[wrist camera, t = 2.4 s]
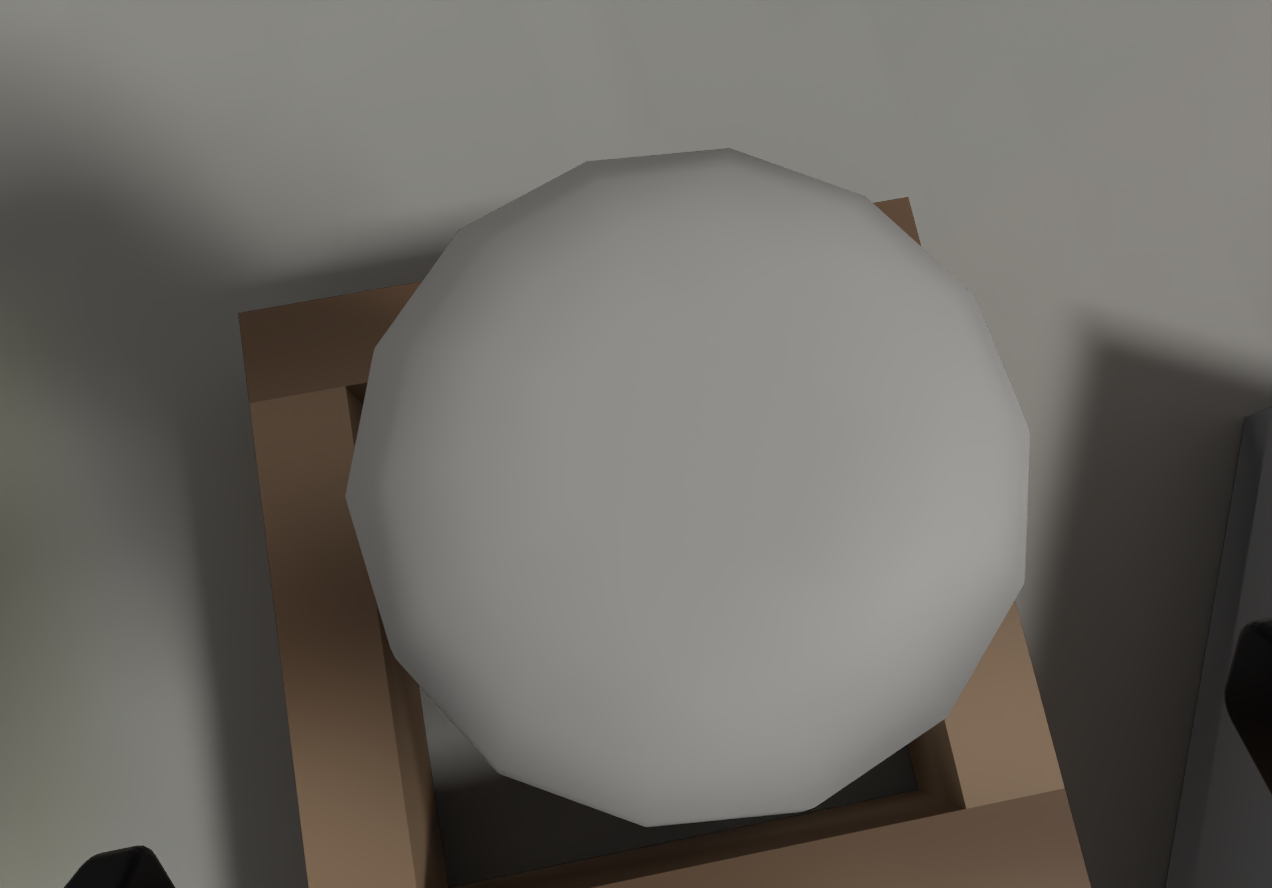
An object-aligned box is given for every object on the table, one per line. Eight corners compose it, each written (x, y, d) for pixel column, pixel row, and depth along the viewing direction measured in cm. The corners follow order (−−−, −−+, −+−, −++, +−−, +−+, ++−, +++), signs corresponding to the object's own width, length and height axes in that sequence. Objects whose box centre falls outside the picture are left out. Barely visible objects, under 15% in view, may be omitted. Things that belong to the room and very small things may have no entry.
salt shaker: (874, 606, 19) (1446, 469, 6) (640, 849, 18) (717, 1310, 5) (640, 374, 19) (698, -192, 7) (405, 595, 18) (-52, 429, 6)
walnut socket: (1026, 864, 18) (1092, 894, 15) (370, 1005, 17) (329, 1060, 15) (871, 255, 20) (908, 197, 17) (285, 358, 19) (238, 312, 17)
